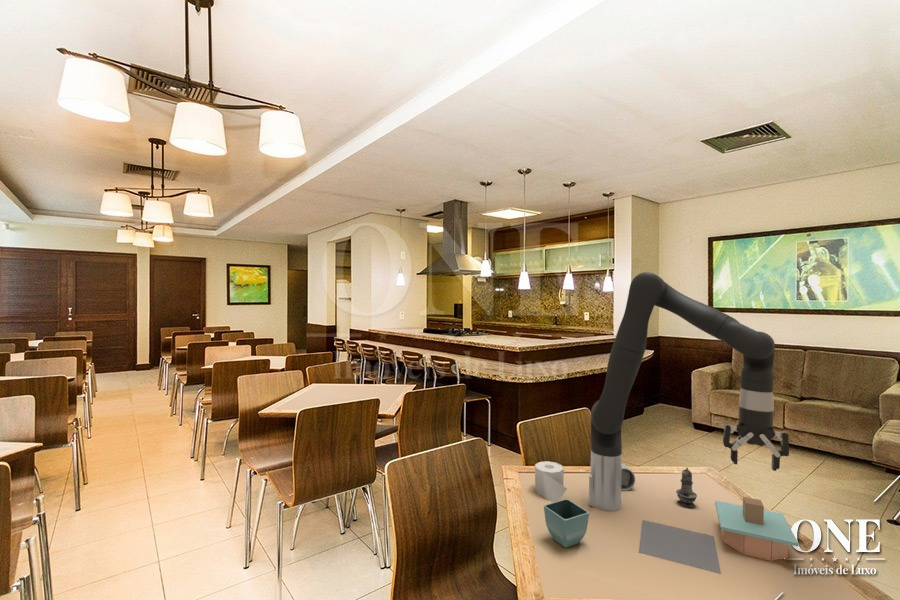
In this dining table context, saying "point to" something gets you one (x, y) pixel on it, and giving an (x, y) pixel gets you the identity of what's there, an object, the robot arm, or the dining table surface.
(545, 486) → the toilet tissue
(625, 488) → the ceramic mug
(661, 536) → the mat
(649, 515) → the dining table surface
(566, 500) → the flower pot
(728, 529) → the lid
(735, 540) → the bowl
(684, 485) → the dark grey chess piece
